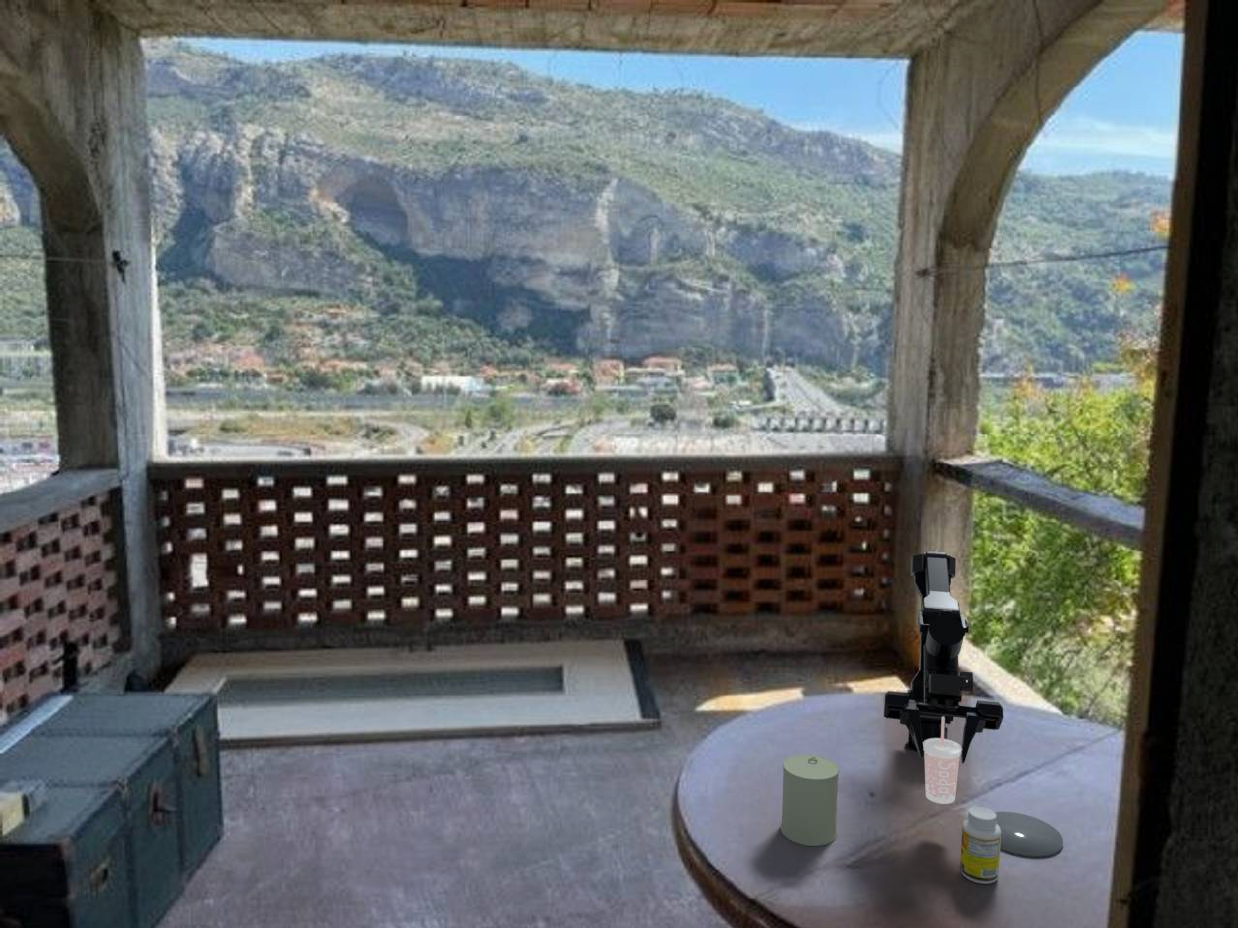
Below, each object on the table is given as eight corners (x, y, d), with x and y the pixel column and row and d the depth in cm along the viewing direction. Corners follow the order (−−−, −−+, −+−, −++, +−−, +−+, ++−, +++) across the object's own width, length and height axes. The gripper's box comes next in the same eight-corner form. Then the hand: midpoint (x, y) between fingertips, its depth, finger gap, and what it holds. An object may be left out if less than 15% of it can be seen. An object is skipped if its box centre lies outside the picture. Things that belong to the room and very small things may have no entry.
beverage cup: (919, 802, 151) (922, 721, 149) (922, 785, 157) (924, 707, 155) (959, 808, 149) (962, 726, 147) (960, 791, 155) (963, 712, 153)
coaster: (965, 836, 152) (965, 833, 152) (992, 807, 162) (993, 803, 162) (1049, 866, 144) (1049, 863, 144) (1072, 833, 153) (1072, 829, 153)
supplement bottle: (967, 860, 145) (970, 799, 144) (1003, 873, 142) (1007, 811, 140) (953, 876, 141) (957, 813, 140) (991, 890, 137) (995, 826, 136)
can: (839, 822, 156) (842, 755, 155) (833, 850, 148) (836, 780, 146) (785, 813, 159) (787, 747, 158) (776, 840, 151) (778, 771, 149)
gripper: (887, 645, 156) (885, 735, 147) (1005, 656, 151) (1011, 749, 142) (884, 673, 164) (882, 759, 155) (996, 684, 160) (1000, 773, 151)
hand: (942, 759), depth 151 cm, fingers closed on beverage cup, 6 cm apart
